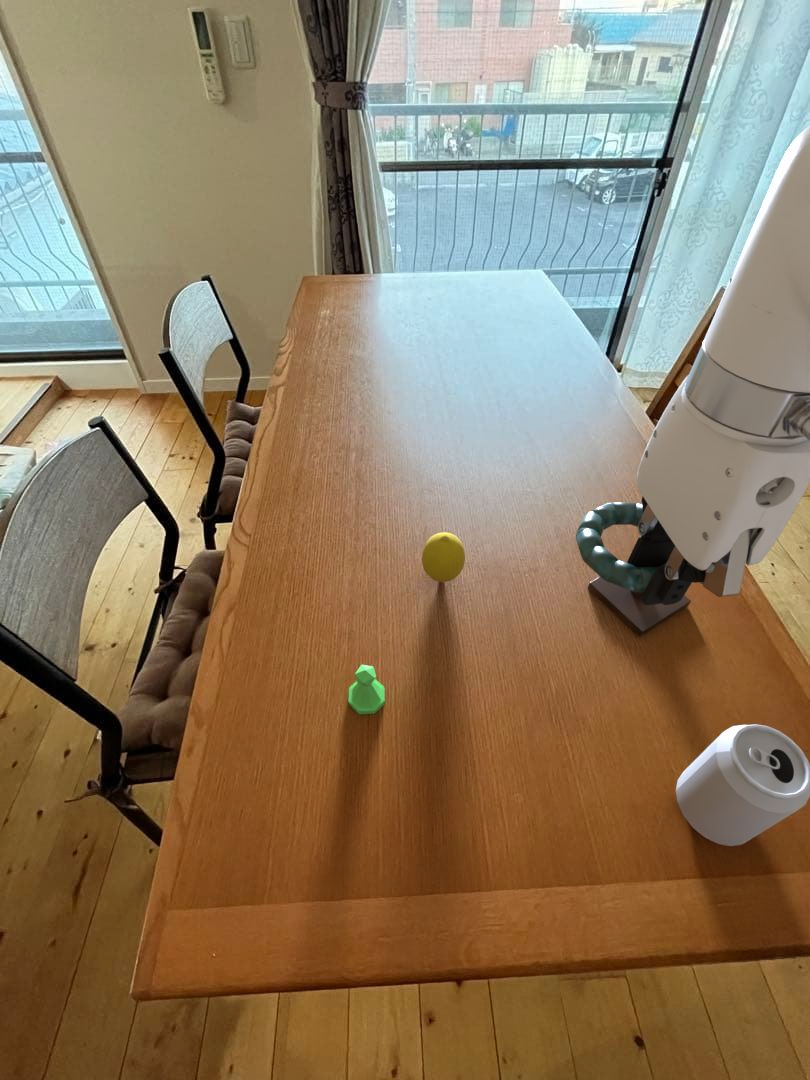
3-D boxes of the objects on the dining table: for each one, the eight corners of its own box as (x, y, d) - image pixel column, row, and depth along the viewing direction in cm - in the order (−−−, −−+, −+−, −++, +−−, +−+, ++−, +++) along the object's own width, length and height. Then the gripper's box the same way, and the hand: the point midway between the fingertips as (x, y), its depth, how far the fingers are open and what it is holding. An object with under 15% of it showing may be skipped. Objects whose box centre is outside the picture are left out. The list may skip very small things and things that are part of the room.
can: (756, 861, 51) (830, 820, 43) (672, 832, 53) (726, 787, 44) (750, 782, 56) (815, 731, 48) (672, 758, 58) (722, 705, 49)
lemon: (433, 556, 77) (436, 515, 71) (469, 572, 75) (475, 531, 69) (413, 582, 74) (414, 541, 68) (450, 600, 72) (454, 559, 66)
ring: (714, 566, 47) (724, 551, 45) (635, 615, 43) (643, 600, 42) (628, 500, 52) (634, 484, 51) (551, 538, 49) (556, 522, 47)
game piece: (357, 675, 64) (354, 647, 60) (391, 687, 63) (391, 660, 59) (341, 707, 61) (337, 680, 57) (376, 721, 60) (375, 694, 56)
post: (687, 606, 71) (718, 559, 65) (639, 637, 68) (666, 591, 61) (634, 561, 77) (657, 513, 70) (587, 588, 73) (606, 540, 67)
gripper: (926, 470, 27) (749, 665, 40) (740, 319, 38) (649, 512, 51) (785, 484, 26) (652, 679, 39) (636, 325, 37) (572, 521, 50)
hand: (651, 584), depth 45 cm, fingers closed on ring, 2 cm apart
